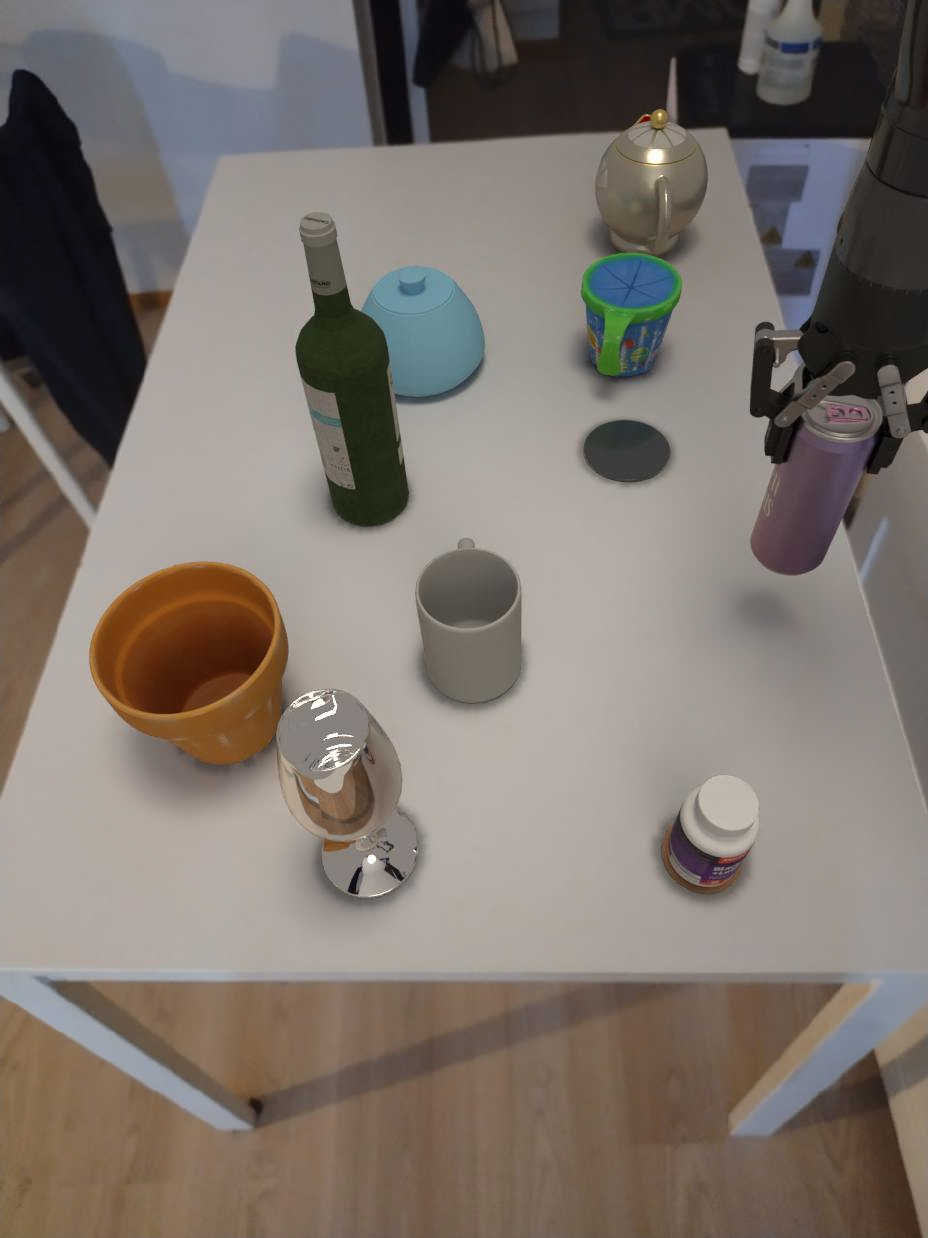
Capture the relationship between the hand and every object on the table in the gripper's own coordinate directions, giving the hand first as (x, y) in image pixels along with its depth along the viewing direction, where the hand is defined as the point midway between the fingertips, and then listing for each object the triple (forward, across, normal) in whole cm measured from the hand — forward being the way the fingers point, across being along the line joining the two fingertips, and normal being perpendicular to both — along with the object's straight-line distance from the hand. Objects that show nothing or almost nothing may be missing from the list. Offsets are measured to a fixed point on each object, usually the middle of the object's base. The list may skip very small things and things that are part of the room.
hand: (823, 460), depth 62 cm
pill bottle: (+19, -4, -24) cm, 31 cm away
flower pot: (+19, -44, -19) cm, 52 cm away
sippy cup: (+19, -16, +34) cm, 42 cm away
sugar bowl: (+19, -40, +30) cm, 53 cm away
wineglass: (+19, -29, -28) cm, 45 cm away
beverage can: (+11, 0, 0) cm, 11 cm away
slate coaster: (+19, -14, +19) cm, 30 cm away
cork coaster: (+19, -4, -24) cm, 31 cm away
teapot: (+19, -16, +56) cm, 62 cm away
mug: (+19, -25, -8) cm, 33 cm away
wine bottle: (+19, -39, +8) cm, 44 cm away
